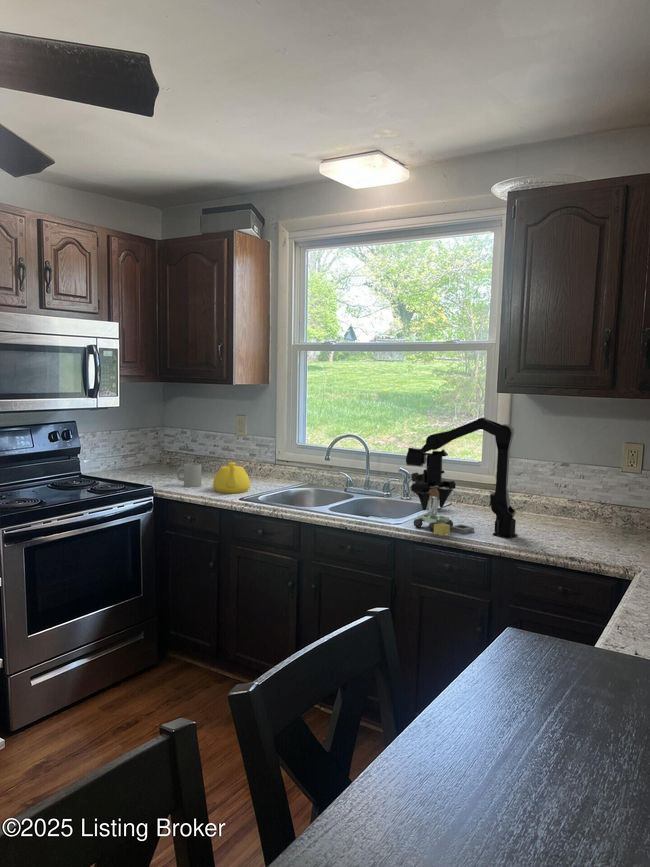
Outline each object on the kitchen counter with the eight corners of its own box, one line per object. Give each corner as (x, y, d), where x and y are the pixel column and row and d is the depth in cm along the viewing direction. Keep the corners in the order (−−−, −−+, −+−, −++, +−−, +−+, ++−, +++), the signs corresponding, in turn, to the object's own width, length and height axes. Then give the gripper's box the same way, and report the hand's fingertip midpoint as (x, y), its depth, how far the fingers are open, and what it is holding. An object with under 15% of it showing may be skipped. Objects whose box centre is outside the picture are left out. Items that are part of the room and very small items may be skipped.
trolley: (453, 528, 235) (453, 517, 235) (435, 532, 229) (435, 520, 229) (431, 523, 244) (431, 512, 243) (413, 526, 238) (413, 515, 237)
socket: (474, 531, 232) (474, 527, 231) (463, 534, 228) (463, 529, 228) (460, 528, 236) (460, 524, 236) (449, 530, 233) (449, 526, 232)
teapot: (251, 495, 292) (251, 466, 291) (212, 496, 290) (212, 466, 288) (249, 486, 317) (250, 459, 315) (213, 486, 314) (213, 459, 313)
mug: (202, 484, 319) (202, 463, 318) (199, 487, 310) (199, 465, 309) (178, 484, 318) (178, 462, 317) (175, 487, 310) (175, 465, 309)
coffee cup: (440, 510, 268) (442, 475, 267) (420, 509, 270) (421, 474, 268) (441, 506, 276) (442, 472, 275) (421, 505, 278) (422, 471, 277)
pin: (438, 518, 237) (439, 497, 236) (432, 519, 235) (434, 498, 234) (432, 517, 239) (433, 496, 238) (426, 517, 237) (428, 496, 236)
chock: (449, 534, 227) (450, 525, 227) (442, 536, 225) (442, 526, 224) (441, 532, 230) (441, 522, 230) (433, 533, 228) (434, 524, 227)
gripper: (434, 463, 247) (433, 502, 249) (401, 466, 236) (399, 507, 237) (457, 466, 239) (455, 507, 240) (423, 470, 227) (421, 513, 229)
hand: (432, 508), depth 237 cm, fingers open, 9 cm apart
